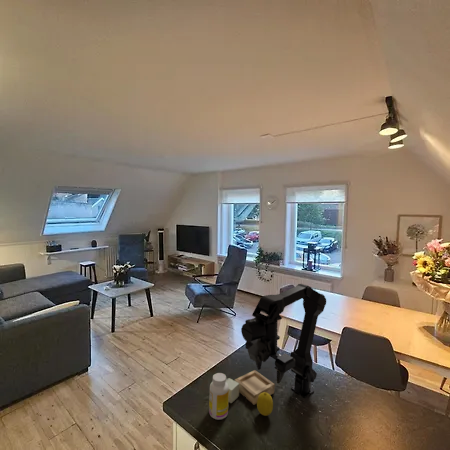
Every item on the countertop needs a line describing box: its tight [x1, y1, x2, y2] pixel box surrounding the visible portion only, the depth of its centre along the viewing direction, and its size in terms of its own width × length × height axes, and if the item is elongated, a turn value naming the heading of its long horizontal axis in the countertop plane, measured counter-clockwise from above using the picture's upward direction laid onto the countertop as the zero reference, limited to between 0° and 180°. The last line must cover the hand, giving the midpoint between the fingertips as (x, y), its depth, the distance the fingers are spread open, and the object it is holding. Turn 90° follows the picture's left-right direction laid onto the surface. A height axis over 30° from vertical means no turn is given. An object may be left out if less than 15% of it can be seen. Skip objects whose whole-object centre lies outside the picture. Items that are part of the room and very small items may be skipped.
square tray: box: [234, 369, 276, 406], centre depth 100 cm, size 11×11×4 cm
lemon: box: [256, 392, 274, 417], centre depth 87 cm, size 6×6×8 cm
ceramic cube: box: [226, 377, 240, 404], centre depth 96 cm, size 5×5×5 cm
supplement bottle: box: [208, 372, 229, 420], centre depth 88 cm, size 7×7×13 cm
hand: (268, 375), depth 89 cm, fingers open, 9 cm apart
